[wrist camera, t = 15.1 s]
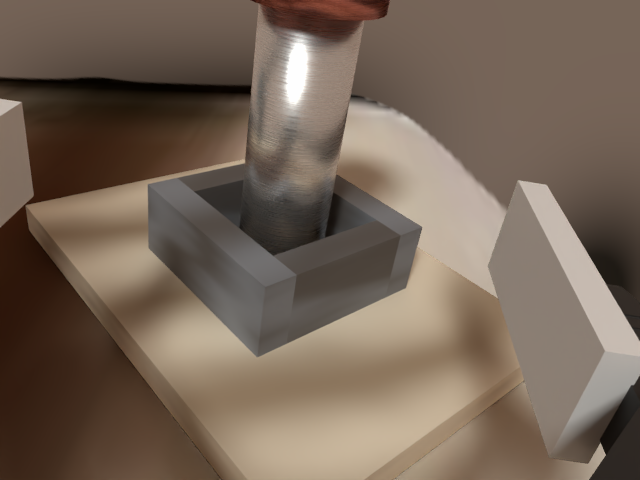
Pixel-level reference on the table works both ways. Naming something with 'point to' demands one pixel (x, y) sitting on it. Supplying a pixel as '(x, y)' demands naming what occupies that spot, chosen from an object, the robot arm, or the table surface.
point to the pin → (299, 115)
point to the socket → (283, 325)
